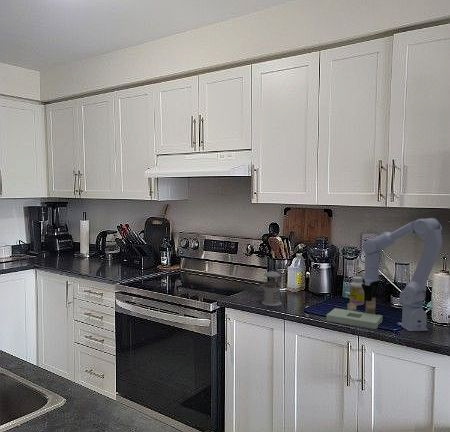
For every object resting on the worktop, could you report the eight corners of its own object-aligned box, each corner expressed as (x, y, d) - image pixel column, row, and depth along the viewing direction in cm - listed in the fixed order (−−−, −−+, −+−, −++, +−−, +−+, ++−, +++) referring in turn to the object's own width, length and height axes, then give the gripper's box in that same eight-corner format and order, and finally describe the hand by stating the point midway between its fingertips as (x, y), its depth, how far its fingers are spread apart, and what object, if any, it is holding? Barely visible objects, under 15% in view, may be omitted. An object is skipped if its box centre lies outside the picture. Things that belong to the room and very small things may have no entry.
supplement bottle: (346, 302, 207) (347, 276, 207) (358, 301, 210) (358, 275, 209) (355, 306, 201) (356, 279, 200) (367, 305, 203) (367, 278, 203)
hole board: (382, 321, 178) (382, 315, 178) (375, 329, 168) (376, 323, 168) (334, 313, 189) (335, 308, 189) (326, 320, 178) (326, 314, 178)
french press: (258, 304, 204) (259, 251, 202) (267, 298, 214) (268, 248, 212) (277, 306, 199) (278, 253, 197) (286, 301, 209) (287, 250, 208)
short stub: (357, 314, 188) (358, 305, 188) (348, 314, 188) (349, 305, 187) (354, 311, 192) (354, 303, 192) (345, 312, 192) (345, 303, 191)
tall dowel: (376, 317, 184) (377, 299, 183) (367, 317, 184) (368, 299, 183) (372, 314, 188) (373, 296, 187) (363, 314, 188) (364, 296, 187)
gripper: (366, 264, 193) (365, 294, 194) (357, 269, 180) (356, 301, 181) (382, 265, 189) (381, 296, 190) (375, 271, 177) (374, 303, 178)
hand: (370, 298), depth 185 cm, fingers open, 7 cm apart
